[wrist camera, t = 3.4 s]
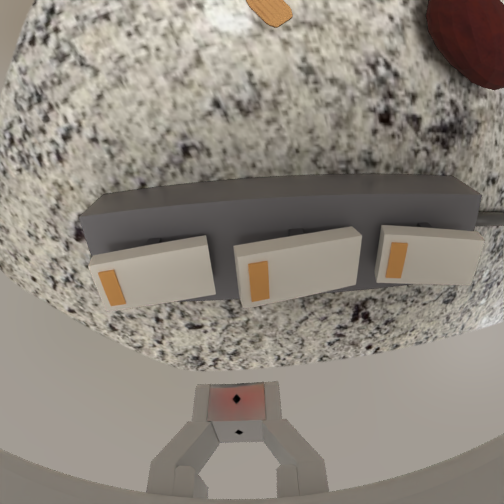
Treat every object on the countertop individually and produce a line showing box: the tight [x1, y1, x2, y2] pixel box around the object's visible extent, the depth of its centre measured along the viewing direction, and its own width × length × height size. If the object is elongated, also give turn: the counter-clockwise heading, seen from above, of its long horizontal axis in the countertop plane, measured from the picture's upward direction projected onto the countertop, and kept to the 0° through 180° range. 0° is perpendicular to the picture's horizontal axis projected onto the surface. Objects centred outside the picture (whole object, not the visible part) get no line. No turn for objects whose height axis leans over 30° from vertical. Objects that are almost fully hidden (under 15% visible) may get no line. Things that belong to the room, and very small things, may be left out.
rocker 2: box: [233, 226, 362, 309], centre depth 17 cm, size 7×3×1 cm, turn 94°
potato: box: [426, 0, 504, 90], centre depth 12 cm, size 7×8×6 cm
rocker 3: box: [374, 225, 485, 285], centre depth 17 cm, size 7×3×1 cm, turn 94°
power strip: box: [79, 174, 504, 302], centre depth 20 cm, size 38×7×5 cm, turn 94°
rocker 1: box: [88, 235, 216, 312], centre depth 18 cm, size 7×3×1 cm, turn 94°
